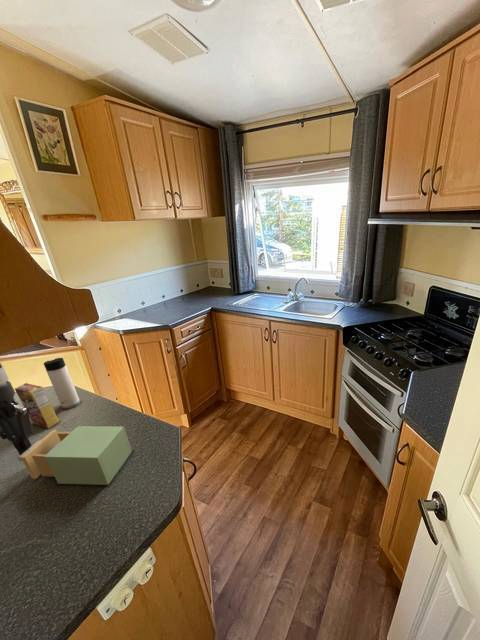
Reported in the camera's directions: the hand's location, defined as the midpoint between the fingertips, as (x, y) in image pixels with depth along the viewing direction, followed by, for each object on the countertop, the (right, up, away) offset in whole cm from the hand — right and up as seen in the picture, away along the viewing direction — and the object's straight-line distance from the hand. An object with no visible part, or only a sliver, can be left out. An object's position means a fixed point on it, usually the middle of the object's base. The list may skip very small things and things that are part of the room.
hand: (28, 456), depth 84 cm
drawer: (+10, -2, 0) cm, 10 cm away
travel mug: (-9, +10, +32) cm, 34 cm away
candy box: (-11, +5, +21) cm, 24 cm away
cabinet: (+20, -3, 0) cm, 20 cm away
